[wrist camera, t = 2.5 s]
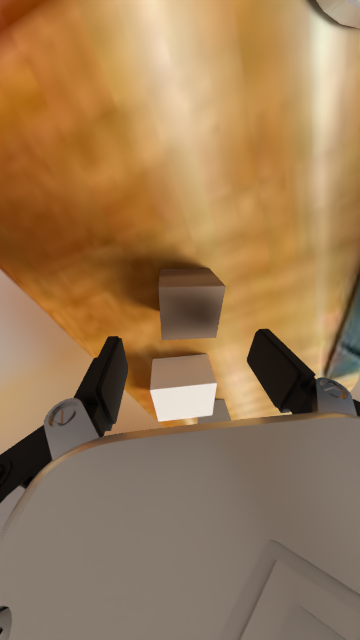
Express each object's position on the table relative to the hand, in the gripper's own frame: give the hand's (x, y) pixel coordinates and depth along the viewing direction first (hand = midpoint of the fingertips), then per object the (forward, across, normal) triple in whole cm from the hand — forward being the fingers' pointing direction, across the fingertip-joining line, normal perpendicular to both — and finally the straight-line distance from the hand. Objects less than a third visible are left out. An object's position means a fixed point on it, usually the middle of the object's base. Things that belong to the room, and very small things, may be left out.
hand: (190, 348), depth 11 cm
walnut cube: (+8, 0, -1) cm, 8 cm away
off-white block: (+8, 0, +13) cm, 15 cm away
